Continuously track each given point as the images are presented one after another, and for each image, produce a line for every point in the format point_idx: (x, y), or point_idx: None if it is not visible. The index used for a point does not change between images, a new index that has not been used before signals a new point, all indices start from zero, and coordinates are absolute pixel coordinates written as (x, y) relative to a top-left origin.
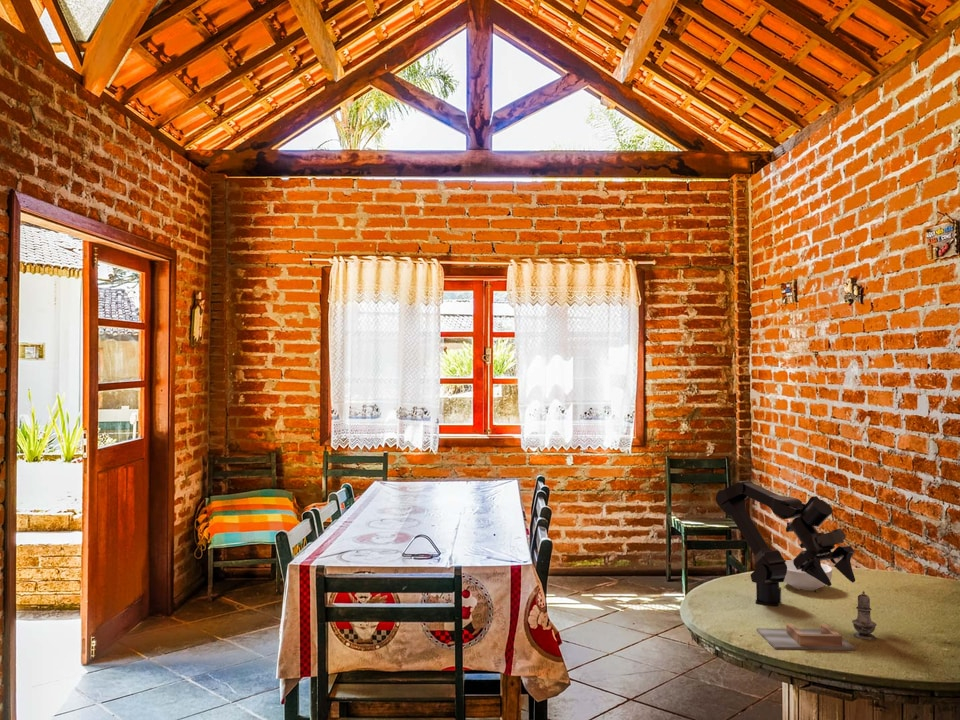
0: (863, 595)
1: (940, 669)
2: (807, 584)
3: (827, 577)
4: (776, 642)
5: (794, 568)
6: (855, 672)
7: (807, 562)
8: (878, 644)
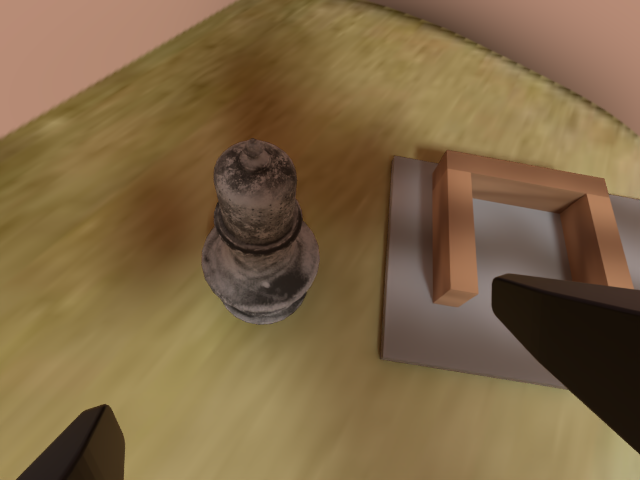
0: (266, 149)
1: (235, 24)
2: None
3: (576, 292)
4: None
5: None
6: (469, 48)
7: None
8: None
